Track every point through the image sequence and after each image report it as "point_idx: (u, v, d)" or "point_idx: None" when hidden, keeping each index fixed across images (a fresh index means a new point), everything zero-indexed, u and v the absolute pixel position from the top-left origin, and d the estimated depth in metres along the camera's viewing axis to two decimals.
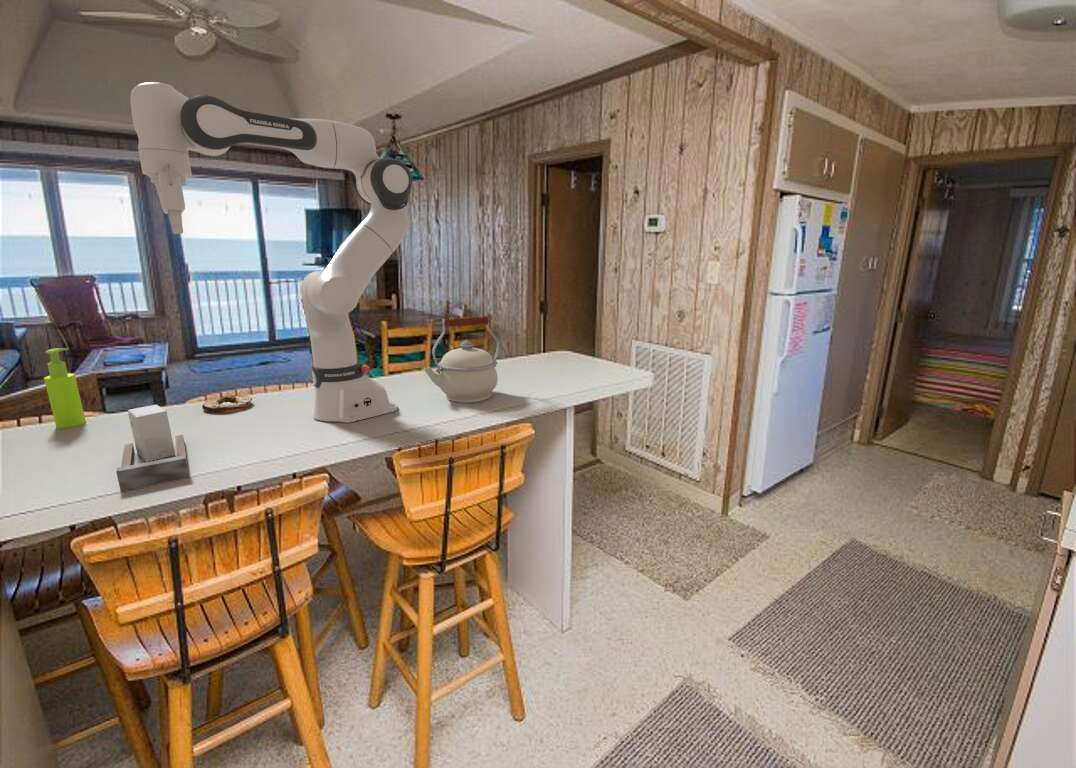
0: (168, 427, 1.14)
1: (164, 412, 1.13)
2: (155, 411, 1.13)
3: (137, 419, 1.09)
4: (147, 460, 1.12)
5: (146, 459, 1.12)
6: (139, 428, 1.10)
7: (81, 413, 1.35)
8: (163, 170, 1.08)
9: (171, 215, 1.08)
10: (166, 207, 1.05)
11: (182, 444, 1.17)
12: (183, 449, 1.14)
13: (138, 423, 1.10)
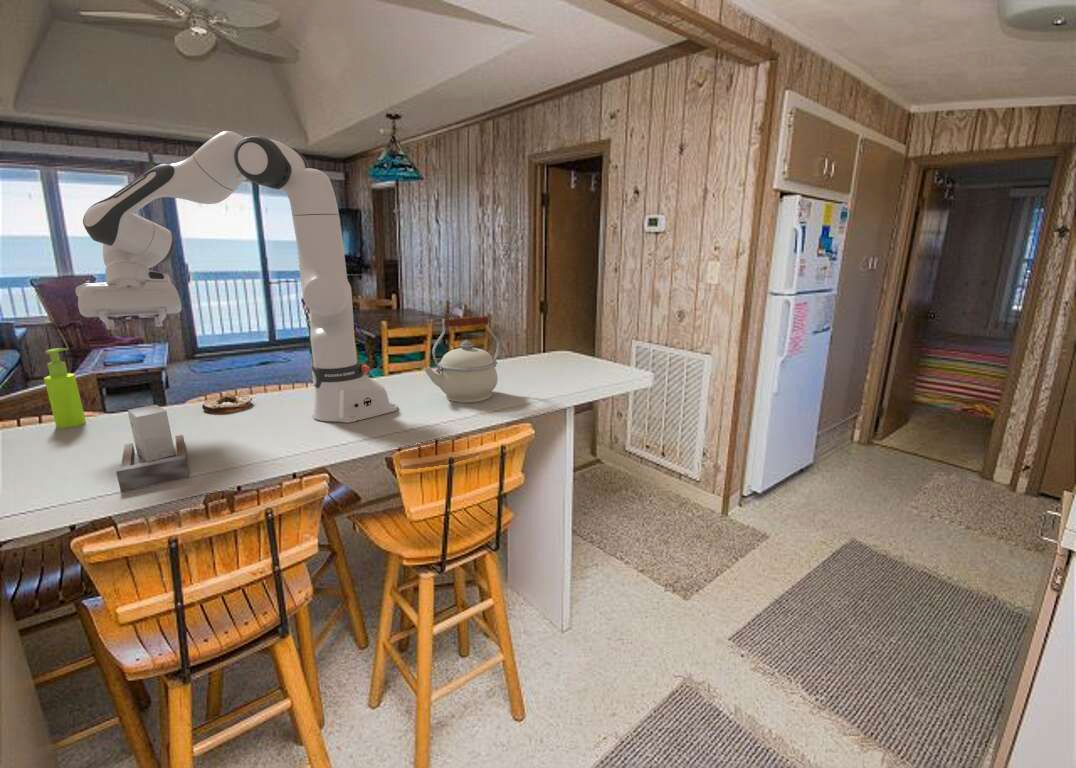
0: (168, 427, 1.14)
1: (164, 412, 1.13)
2: (155, 411, 1.13)
3: (137, 419, 1.09)
4: (147, 460, 1.12)
5: (146, 459, 1.12)
6: (139, 428, 1.10)
7: (81, 413, 1.35)
8: None
9: (100, 318, 1.24)
10: None
11: (182, 444, 1.17)
12: (183, 449, 1.14)
13: (138, 423, 1.10)
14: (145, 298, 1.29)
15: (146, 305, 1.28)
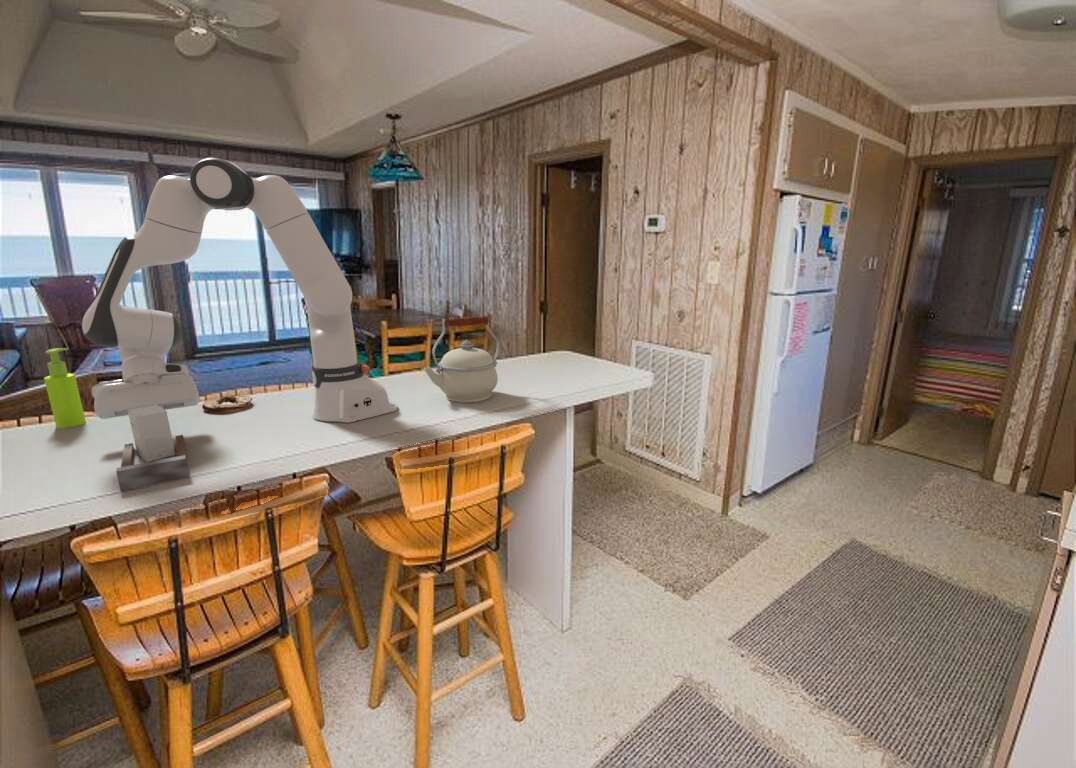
0: (168, 427, 1.14)
1: (164, 412, 1.13)
2: (155, 411, 1.13)
3: (137, 419, 1.09)
4: (147, 460, 1.12)
5: (146, 459, 1.12)
6: (139, 428, 1.10)
7: (81, 413, 1.35)
8: None
9: None
10: None
11: (182, 444, 1.17)
12: (183, 449, 1.14)
13: (138, 423, 1.10)
14: (162, 394, 1.25)
15: (163, 402, 1.24)
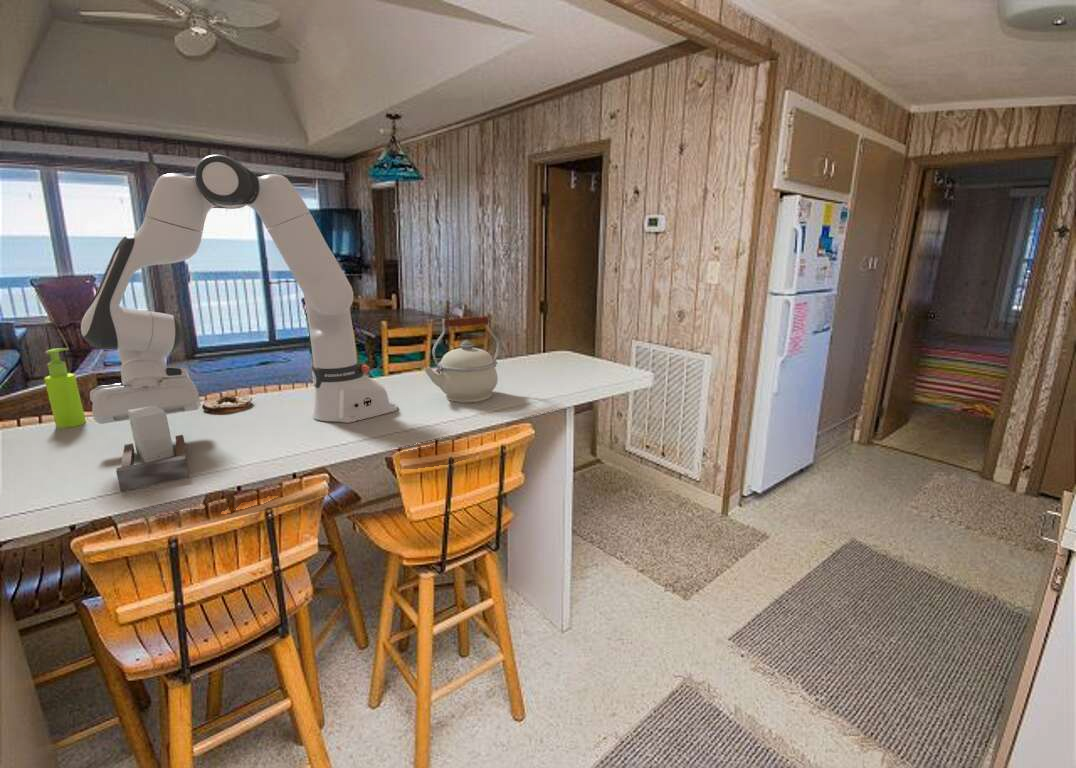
0: (167, 428, 1.13)
1: (163, 413, 1.12)
2: (154, 412, 1.12)
3: (136, 420, 1.09)
4: (146, 461, 1.11)
5: (145, 460, 1.11)
6: (138, 429, 1.09)
7: (81, 413, 1.35)
8: None
9: None
10: None
11: (182, 444, 1.17)
12: (183, 449, 1.14)
13: (137, 424, 1.09)
14: (162, 399, 1.21)
15: (163, 406, 1.21)
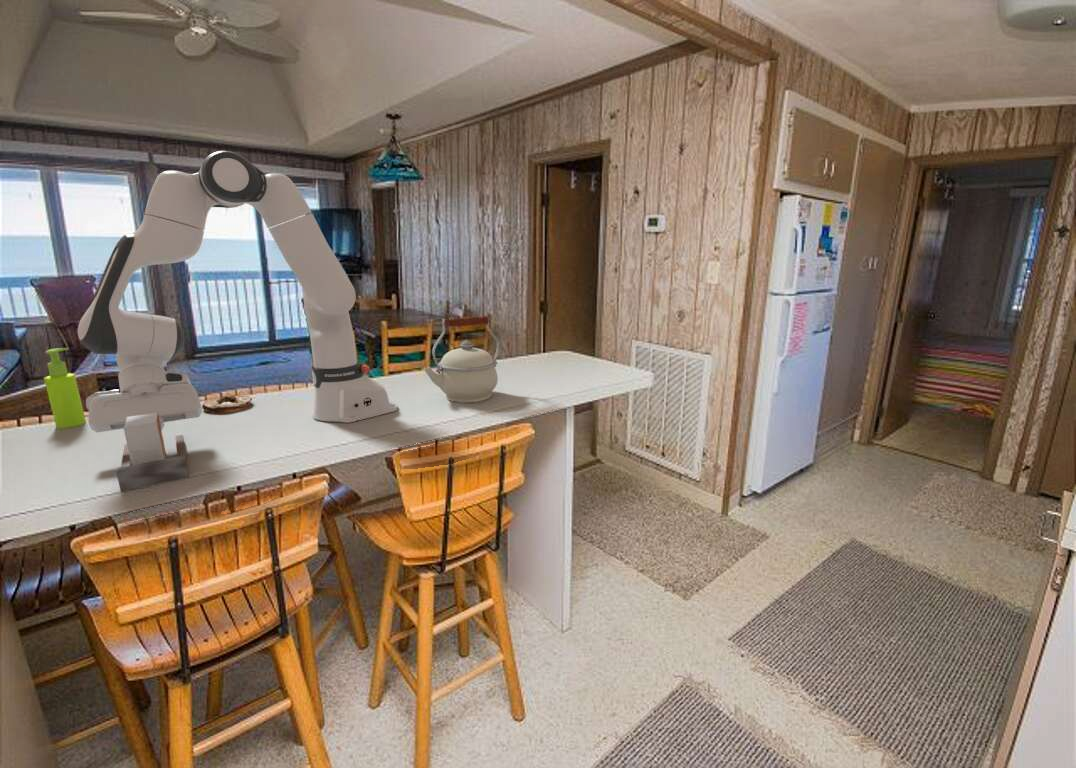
0: (158, 439, 1.07)
1: (154, 423, 1.06)
2: (146, 421, 1.06)
3: (124, 429, 1.03)
4: None
5: None
6: (126, 439, 1.04)
7: (81, 413, 1.35)
8: None
9: None
10: None
11: (182, 444, 1.17)
12: (183, 449, 1.14)
13: (125, 433, 1.03)
14: (162, 406, 1.16)
15: (163, 414, 1.15)
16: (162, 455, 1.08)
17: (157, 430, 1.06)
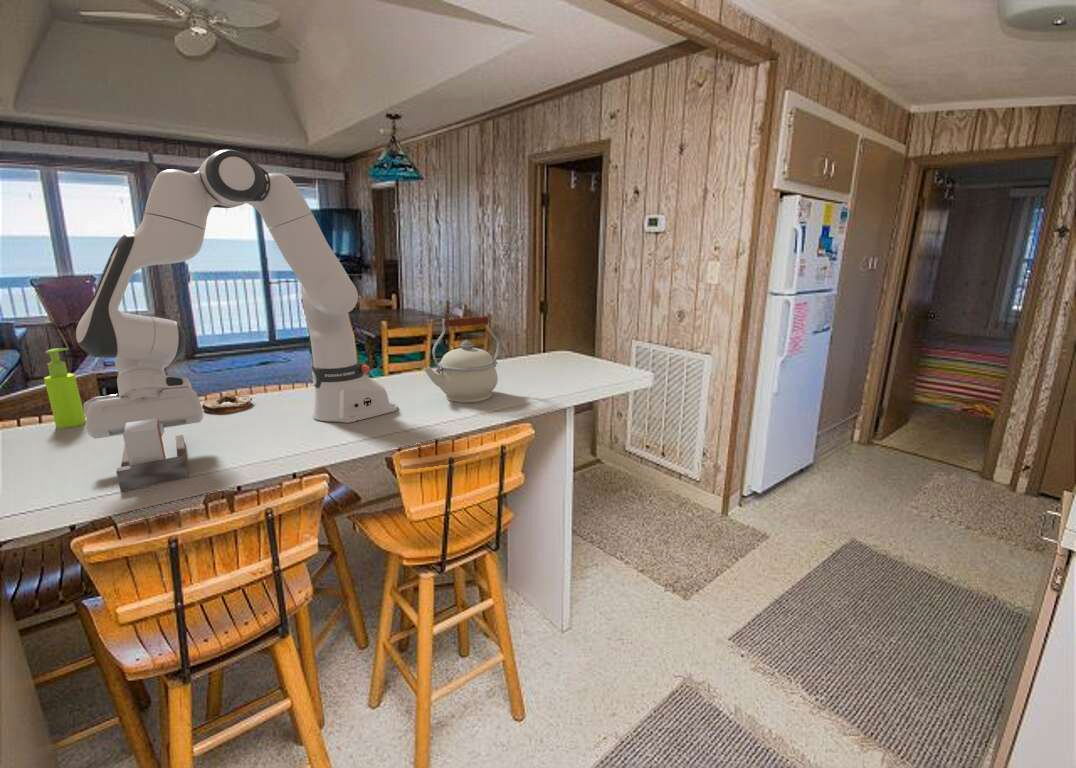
0: (159, 446, 1.03)
1: (155, 429, 1.02)
2: (146, 427, 1.02)
3: (124, 436, 1.00)
4: None
5: None
6: (126, 446, 1.00)
7: (81, 413, 1.35)
8: None
9: None
10: None
11: (182, 444, 1.17)
12: (183, 449, 1.14)
13: (125, 440, 1.00)
14: (162, 411, 1.12)
15: (163, 419, 1.12)
16: None
17: (158, 436, 1.03)
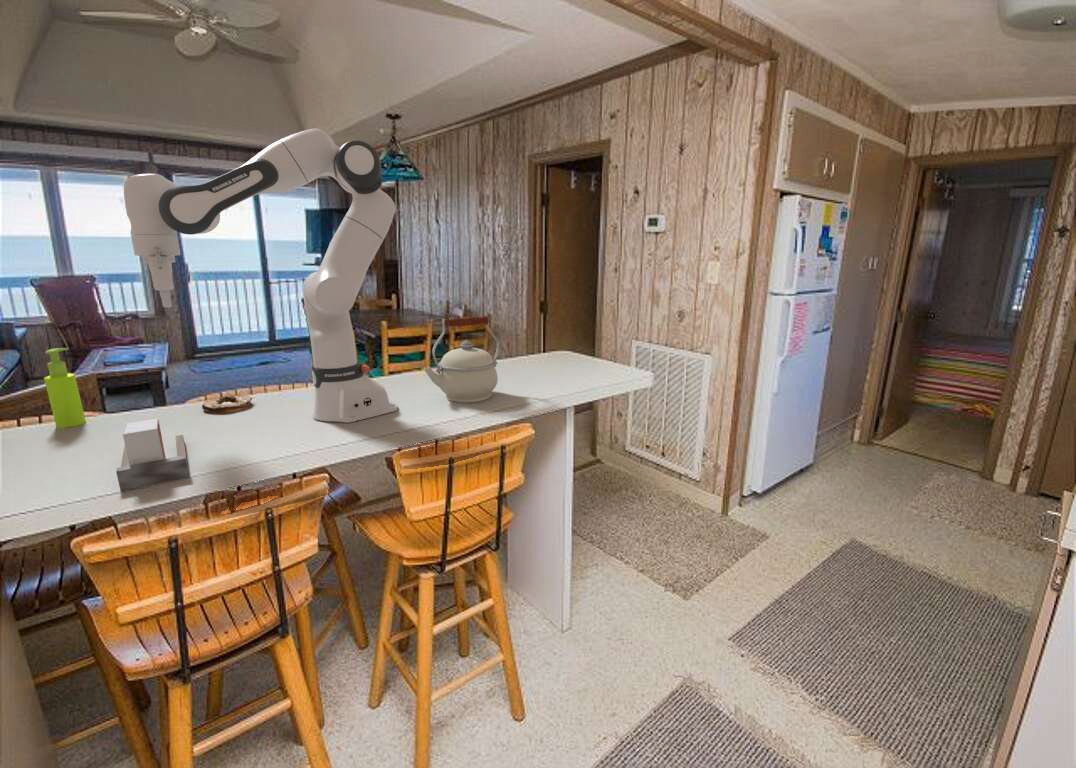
0: (159, 446, 1.03)
1: (155, 430, 1.02)
2: (147, 428, 1.02)
3: (124, 436, 0.99)
4: None
5: None
6: (126, 446, 1.00)
7: (81, 413, 1.35)
8: (153, 253, 1.18)
9: (161, 292, 1.21)
10: (156, 288, 1.15)
11: (182, 444, 1.17)
12: (183, 449, 1.14)
13: (125, 441, 1.00)
14: None
15: None
16: None
17: (158, 437, 1.03)
